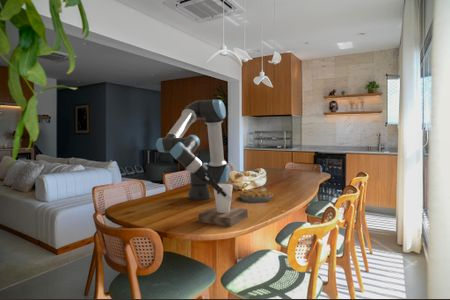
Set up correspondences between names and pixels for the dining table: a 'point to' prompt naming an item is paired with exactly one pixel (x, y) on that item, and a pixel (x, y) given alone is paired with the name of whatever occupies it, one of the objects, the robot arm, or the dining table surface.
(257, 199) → the pie
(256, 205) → the dining table surface
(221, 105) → the robot arm
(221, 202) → the foam cup
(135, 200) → the dining table surface
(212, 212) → the walnut riser
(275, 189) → the dining table surface
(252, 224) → the dining table surface
